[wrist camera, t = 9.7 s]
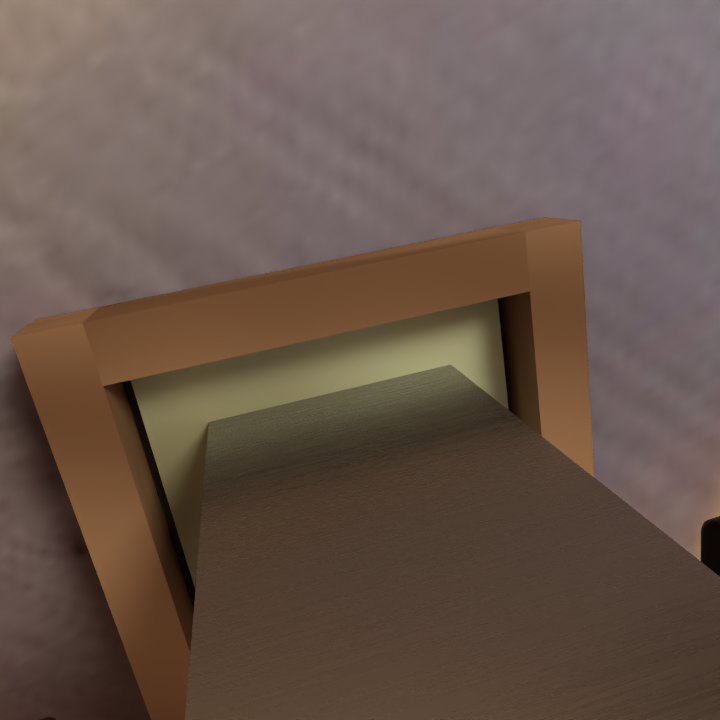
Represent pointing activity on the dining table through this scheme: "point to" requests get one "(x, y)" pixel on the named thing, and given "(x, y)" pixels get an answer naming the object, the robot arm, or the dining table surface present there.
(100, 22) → the dining table surface
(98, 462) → the wooden double frame
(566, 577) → the grey tall block
